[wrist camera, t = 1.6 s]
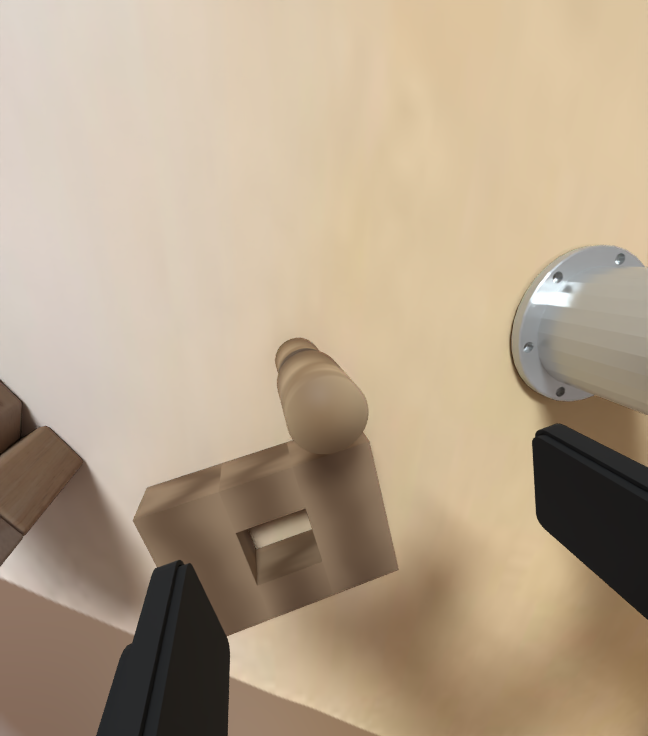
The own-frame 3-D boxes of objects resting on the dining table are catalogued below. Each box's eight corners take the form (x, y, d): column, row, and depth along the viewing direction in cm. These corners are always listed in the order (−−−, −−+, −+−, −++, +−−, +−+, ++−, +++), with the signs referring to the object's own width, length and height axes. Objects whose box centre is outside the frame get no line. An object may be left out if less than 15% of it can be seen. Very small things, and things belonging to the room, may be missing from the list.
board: (354, 420, 28) (369, 441, 25) (382, 537, 32) (398, 569, 29) (146, 487, 26) (132, 520, 23) (203, 604, 30) (198, 646, 27)
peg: (316, 327, 25) (359, 366, 16) (329, 376, 26) (375, 439, 17) (264, 342, 25) (276, 391, 15) (279, 391, 26) (298, 464, 17)
